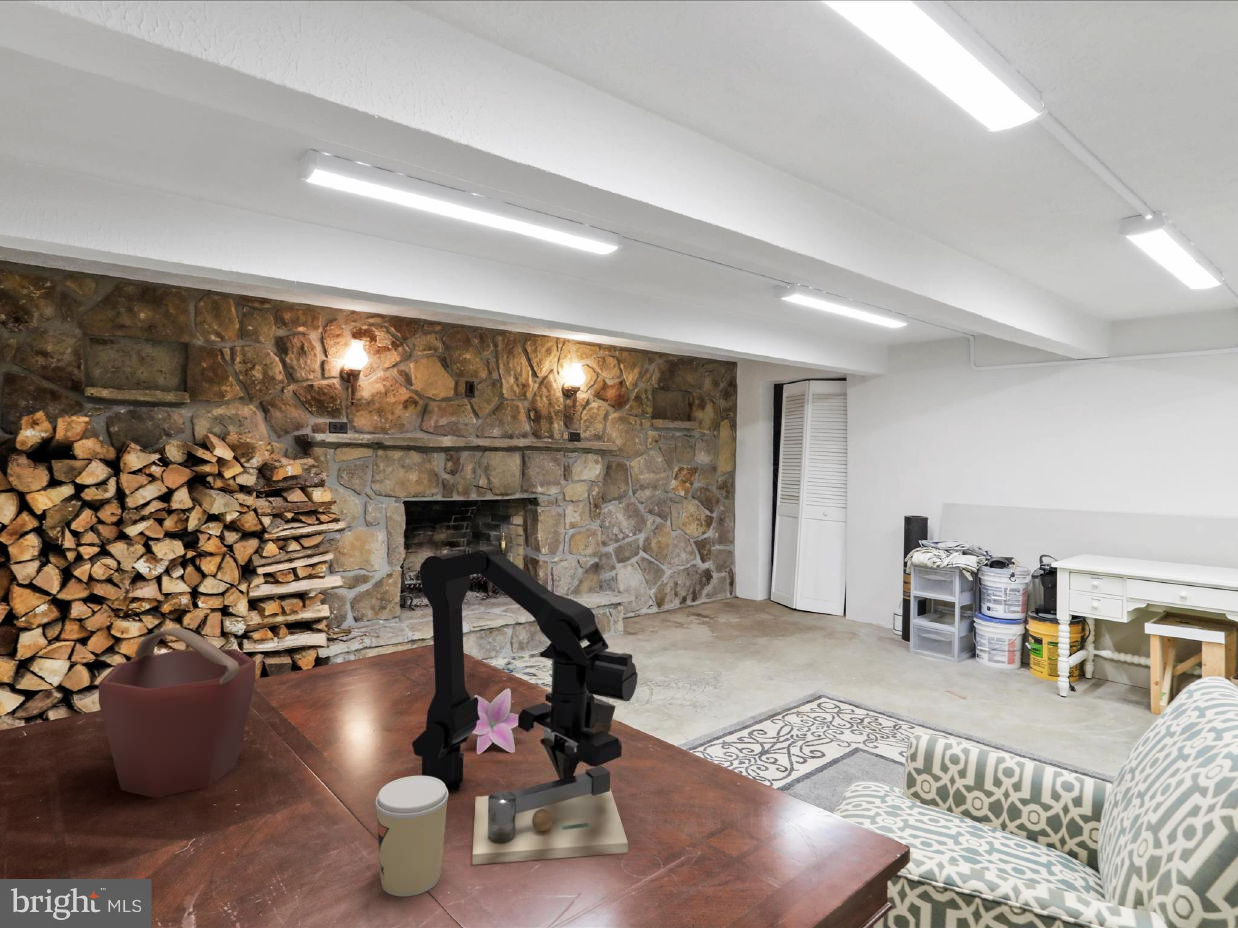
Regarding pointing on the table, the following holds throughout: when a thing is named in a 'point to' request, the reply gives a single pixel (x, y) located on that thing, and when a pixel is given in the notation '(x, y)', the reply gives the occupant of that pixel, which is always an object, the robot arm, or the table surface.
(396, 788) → the lidded canister
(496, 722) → the lily
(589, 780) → the lever
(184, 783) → the bucket
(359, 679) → the table surface
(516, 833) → the board
